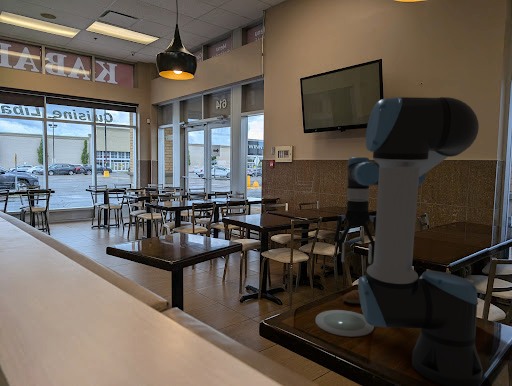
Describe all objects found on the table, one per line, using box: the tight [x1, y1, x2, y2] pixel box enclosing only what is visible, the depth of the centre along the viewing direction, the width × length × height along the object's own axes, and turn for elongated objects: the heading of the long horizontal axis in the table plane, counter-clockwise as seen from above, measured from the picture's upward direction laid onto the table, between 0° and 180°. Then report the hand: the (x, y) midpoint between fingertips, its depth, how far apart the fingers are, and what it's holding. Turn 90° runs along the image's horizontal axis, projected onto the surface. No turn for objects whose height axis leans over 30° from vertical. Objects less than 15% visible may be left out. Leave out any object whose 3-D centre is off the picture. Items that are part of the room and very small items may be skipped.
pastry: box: [342, 289, 361, 305], centre depth 130 cm, size 9×7×4 cm
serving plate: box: [315, 309, 375, 338], centre depth 112 cm, size 18×18×1 cm
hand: (356, 261), depth 129 cm, fingers open, 9 cm apart
